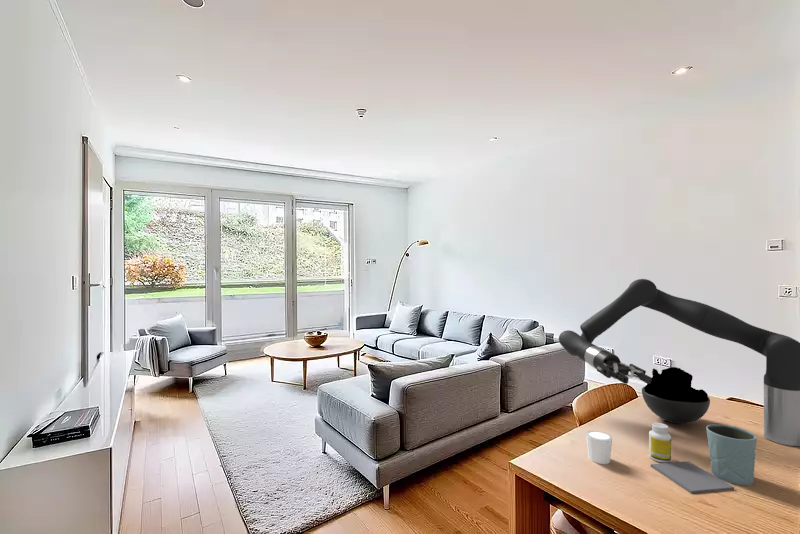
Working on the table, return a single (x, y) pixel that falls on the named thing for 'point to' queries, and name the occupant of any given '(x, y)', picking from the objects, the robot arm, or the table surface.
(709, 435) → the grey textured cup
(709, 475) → the mat
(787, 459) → the table surface
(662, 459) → the supplement bottle
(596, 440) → the shot glass
